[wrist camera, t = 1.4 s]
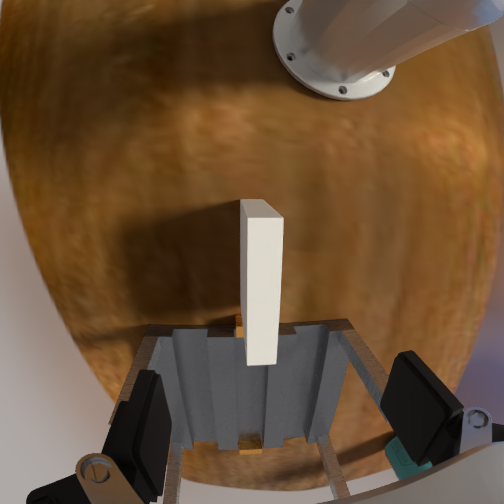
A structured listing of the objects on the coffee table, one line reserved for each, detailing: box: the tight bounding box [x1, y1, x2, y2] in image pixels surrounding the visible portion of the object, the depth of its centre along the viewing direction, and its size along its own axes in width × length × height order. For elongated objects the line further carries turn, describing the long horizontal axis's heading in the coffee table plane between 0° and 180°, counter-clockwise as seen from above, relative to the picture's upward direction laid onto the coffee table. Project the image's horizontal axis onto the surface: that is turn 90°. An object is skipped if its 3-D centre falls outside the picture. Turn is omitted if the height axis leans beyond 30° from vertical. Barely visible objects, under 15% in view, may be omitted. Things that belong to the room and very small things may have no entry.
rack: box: [108, 314, 389, 504], centre depth 25 cm, size 21×21×14 cm
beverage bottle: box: [385, 436, 432, 480], centre depth 29 cm, size 6×7×20 cm
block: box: [240, 199, 284, 366], centre depth 22 cm, size 10×2×10 cm, turn 0°
